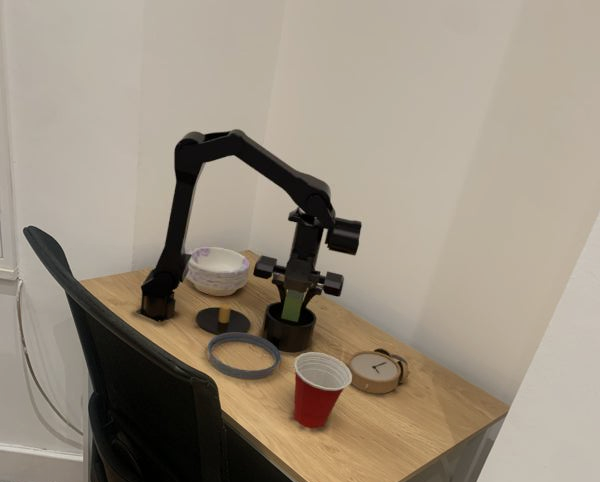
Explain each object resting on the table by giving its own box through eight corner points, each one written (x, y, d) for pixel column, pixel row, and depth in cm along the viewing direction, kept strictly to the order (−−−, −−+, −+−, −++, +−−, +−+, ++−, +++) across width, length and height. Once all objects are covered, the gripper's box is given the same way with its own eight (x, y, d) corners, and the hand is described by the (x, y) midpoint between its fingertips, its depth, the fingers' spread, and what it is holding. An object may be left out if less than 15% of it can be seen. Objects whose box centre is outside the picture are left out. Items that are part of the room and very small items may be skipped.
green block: (281, 318, 139) (286, 295, 136) (283, 311, 142) (288, 288, 139) (297, 322, 139) (302, 299, 136) (299, 314, 142) (304, 292, 139)
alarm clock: (336, 359, 136) (387, 336, 144) (334, 377, 139) (384, 353, 147) (372, 388, 130) (424, 362, 137) (369, 406, 133) (419, 380, 140)
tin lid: (184, 324, 142) (186, 305, 139) (214, 305, 151) (216, 288, 149) (232, 345, 138) (235, 326, 136) (259, 324, 148) (262, 306, 145)
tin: (251, 341, 141) (256, 313, 137) (275, 323, 150) (280, 296, 146) (296, 360, 138) (303, 332, 134) (317, 341, 147) (324, 314, 143)
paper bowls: (193, 268, 165) (196, 240, 161) (250, 283, 165) (255, 254, 161) (175, 293, 152) (178, 262, 148) (237, 308, 152) (242, 278, 148)
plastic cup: (313, 447, 115) (328, 393, 109) (270, 416, 120) (281, 362, 114) (349, 425, 123) (365, 373, 116) (307, 397, 128) (319, 345, 121)
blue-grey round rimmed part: (192, 362, 130) (193, 351, 129) (230, 334, 142) (232, 324, 140) (256, 391, 126) (258, 380, 125) (290, 360, 138) (292, 350, 137)
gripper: (254, 247, 125) (242, 317, 133) (347, 270, 125) (329, 338, 133) (264, 228, 134) (252, 295, 143) (351, 249, 134) (334, 315, 143)
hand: (291, 311), depth 140 cm, fingers closed on green block, 3 cm apart
